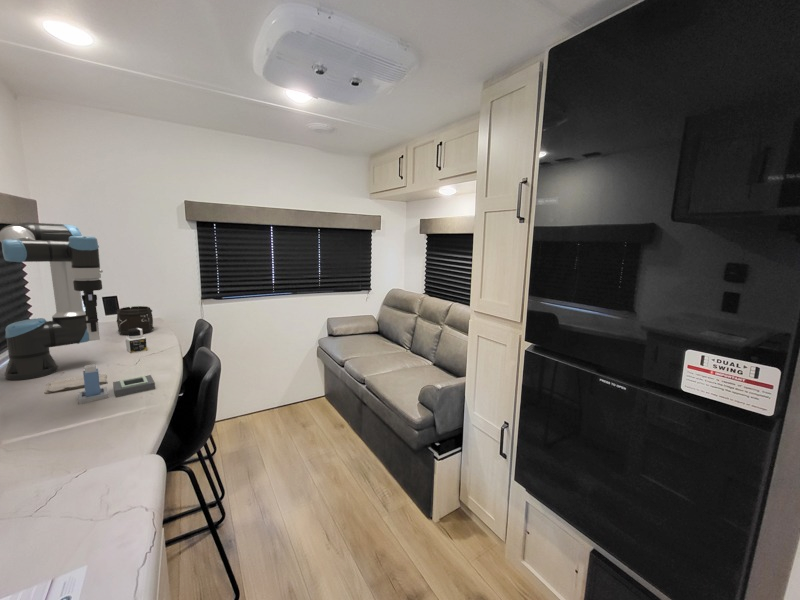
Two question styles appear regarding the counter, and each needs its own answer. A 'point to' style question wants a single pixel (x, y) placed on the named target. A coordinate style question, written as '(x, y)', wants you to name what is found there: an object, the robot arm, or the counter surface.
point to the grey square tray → (84, 399)
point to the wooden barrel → (134, 319)
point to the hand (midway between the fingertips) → (93, 336)
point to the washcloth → (71, 384)
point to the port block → (133, 385)
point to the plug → (91, 380)
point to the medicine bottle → (135, 341)
